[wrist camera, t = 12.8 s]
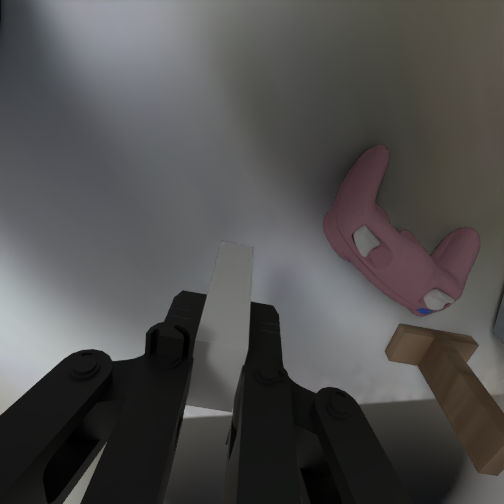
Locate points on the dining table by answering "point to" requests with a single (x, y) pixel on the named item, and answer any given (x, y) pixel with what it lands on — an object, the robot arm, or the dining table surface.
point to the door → (500, 323)
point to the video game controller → (395, 243)
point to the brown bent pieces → (455, 390)
